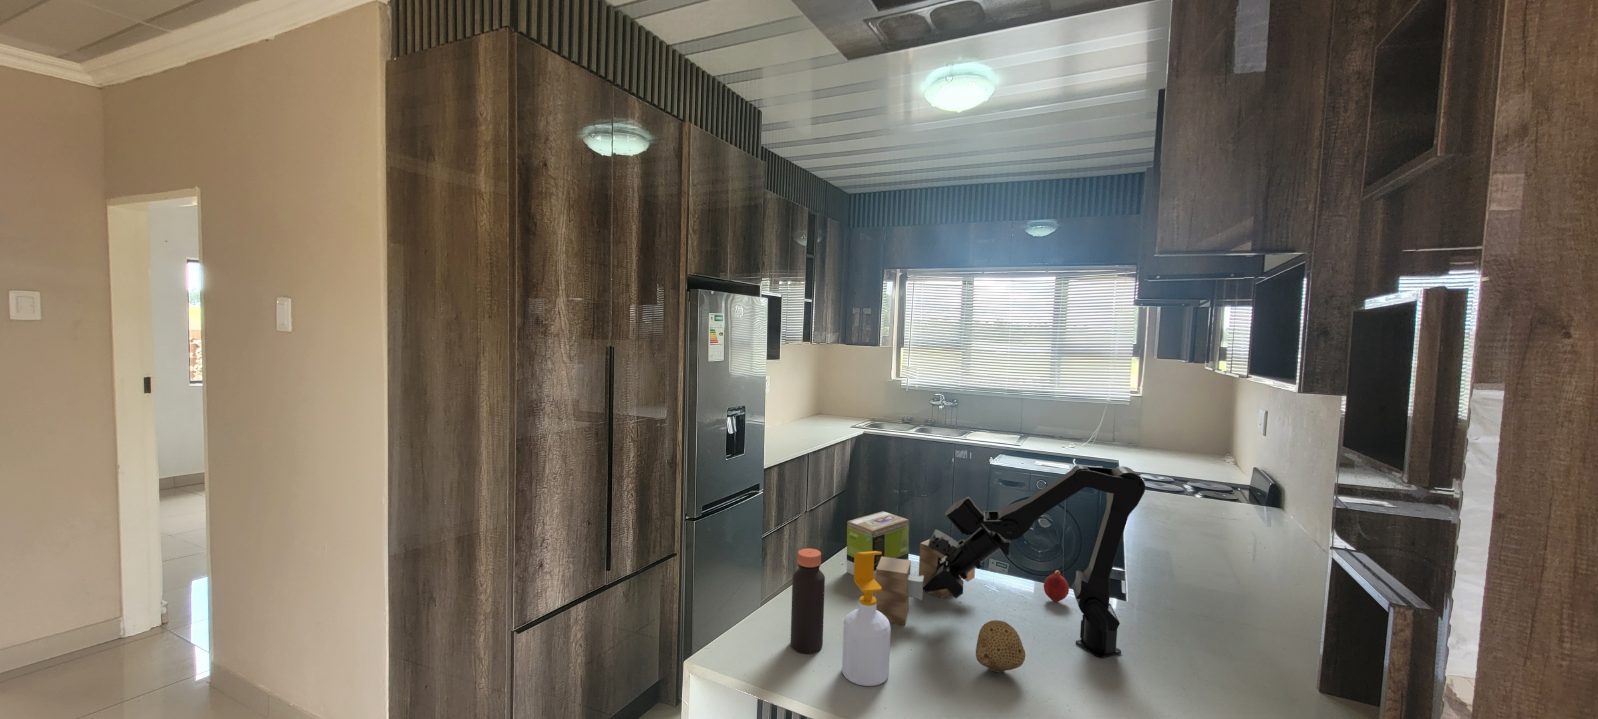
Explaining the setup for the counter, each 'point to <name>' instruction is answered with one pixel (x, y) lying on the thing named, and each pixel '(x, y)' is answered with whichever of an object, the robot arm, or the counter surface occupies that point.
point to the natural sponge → (999, 647)
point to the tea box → (877, 537)
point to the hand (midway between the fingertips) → (924, 589)
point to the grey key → (915, 586)
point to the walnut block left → (893, 589)
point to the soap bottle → (866, 630)
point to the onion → (1056, 587)
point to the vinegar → (807, 603)
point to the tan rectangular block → (970, 575)
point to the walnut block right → (929, 565)
